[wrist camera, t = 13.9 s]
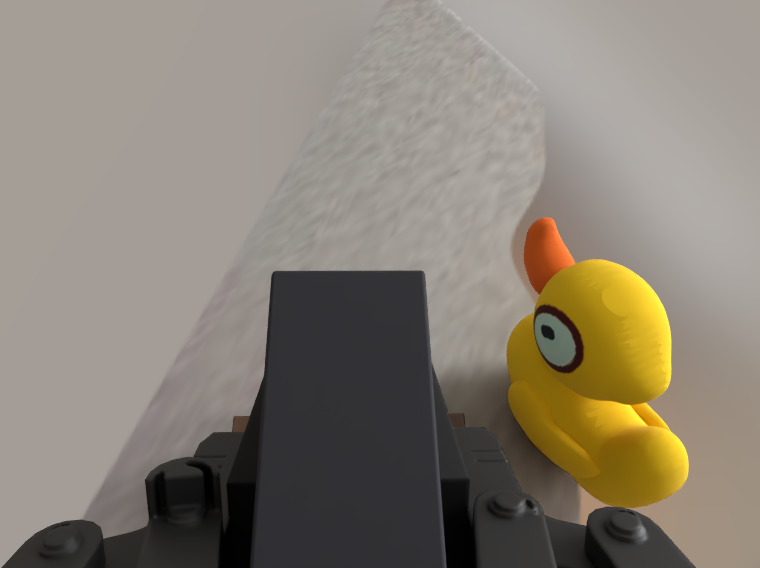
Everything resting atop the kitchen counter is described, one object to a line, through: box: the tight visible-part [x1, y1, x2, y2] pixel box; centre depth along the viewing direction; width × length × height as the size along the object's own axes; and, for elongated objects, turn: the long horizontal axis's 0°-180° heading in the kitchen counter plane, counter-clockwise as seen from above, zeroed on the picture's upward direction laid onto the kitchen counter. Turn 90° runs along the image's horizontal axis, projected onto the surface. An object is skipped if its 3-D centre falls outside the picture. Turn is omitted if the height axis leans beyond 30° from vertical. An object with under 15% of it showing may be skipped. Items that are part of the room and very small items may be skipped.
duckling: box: [507, 218, 688, 508], centre depth 26 cm, size 11×5×10 cm, turn 24°
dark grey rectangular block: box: [250, 271, 447, 568], centre depth 14 cm, size 3×8×10 cm, turn 1°
